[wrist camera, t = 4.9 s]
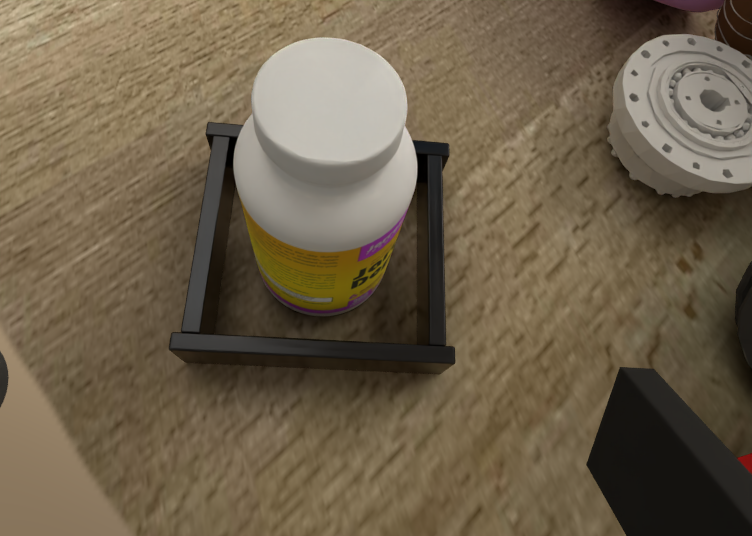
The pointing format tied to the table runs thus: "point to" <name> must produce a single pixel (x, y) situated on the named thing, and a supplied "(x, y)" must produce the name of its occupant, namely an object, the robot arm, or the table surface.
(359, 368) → the black square frame
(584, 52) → the table surface
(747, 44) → the donut
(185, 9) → the table surface
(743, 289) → the coffee cup
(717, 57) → the mechanical component
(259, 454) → the table surface
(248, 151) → the supplement bottle
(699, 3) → the teapot
